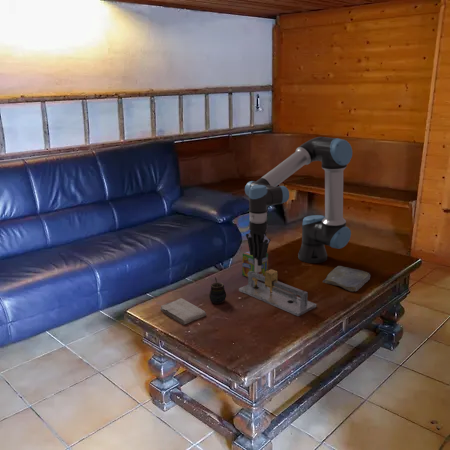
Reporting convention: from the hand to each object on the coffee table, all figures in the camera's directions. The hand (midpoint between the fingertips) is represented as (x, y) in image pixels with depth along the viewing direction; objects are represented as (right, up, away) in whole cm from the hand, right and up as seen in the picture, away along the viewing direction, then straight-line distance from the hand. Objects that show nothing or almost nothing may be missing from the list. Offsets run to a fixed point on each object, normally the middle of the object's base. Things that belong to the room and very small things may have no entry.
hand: (257, 271), depth 210 cm
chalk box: (0, -4, +20) cm, 20 cm away
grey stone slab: (+42, -6, +12) cm, 44 cm away
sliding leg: (+6, -9, -3) cm, 11 cm away
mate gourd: (-18, -12, -7) cm, 23 cm away
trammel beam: (+8, -11, -5) cm, 14 cm away
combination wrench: (+11, -10, -2) cm, 15 cm away
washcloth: (-32, -16, -16) cm, 39 cm away
